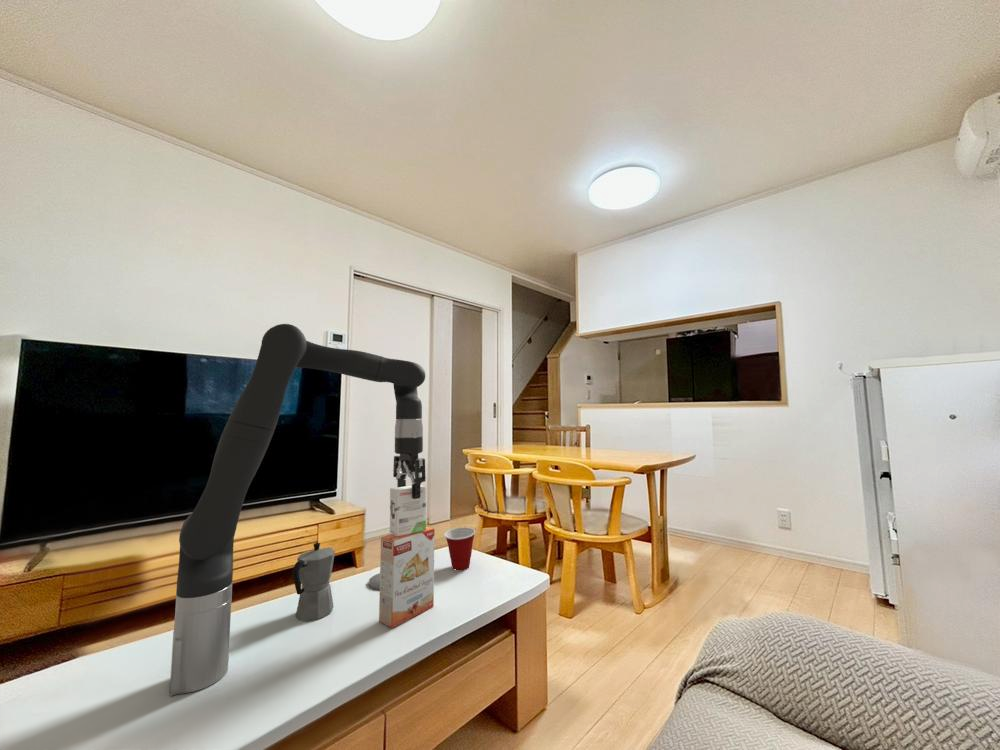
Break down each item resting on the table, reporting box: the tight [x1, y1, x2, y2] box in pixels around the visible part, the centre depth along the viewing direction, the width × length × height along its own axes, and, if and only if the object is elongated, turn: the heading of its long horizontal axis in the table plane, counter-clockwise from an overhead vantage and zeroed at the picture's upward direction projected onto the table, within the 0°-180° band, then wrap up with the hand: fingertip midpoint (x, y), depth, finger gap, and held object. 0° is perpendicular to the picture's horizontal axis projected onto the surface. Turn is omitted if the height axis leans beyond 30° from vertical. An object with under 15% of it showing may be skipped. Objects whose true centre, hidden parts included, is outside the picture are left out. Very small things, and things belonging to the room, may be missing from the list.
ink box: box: [389, 484, 427, 537], centre depth 104 cm, size 9×5×12 cm, turn 127°
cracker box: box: [378, 526, 435, 629], centre depth 103 cm, size 14×6×21 cm, turn 143°
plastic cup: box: [443, 526, 476, 571], centre depth 133 cm, size 11×11×12 cm
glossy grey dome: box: [368, 572, 380, 590], centre depth 122 cm, size 12×12×1 cm
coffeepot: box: [291, 542, 336, 622], centre depth 103 cm, size 15×9×18 cm, turn 169°
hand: (408, 496), depth 105 cm, fingers open, 8 cm apart
